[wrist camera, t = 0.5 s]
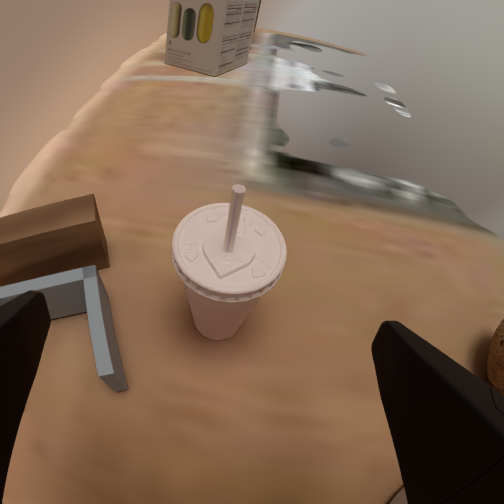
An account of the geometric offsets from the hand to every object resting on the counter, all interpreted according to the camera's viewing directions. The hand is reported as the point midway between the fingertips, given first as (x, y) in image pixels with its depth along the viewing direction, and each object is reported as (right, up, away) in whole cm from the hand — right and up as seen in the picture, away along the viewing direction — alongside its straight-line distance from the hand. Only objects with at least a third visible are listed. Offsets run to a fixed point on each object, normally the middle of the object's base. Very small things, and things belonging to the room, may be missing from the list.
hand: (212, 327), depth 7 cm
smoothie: (-2, -4, +17) cm, 18 cm away
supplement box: (-9, +42, +51) cm, 67 cm away
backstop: (-17, +1, +17) cm, 24 cm away
